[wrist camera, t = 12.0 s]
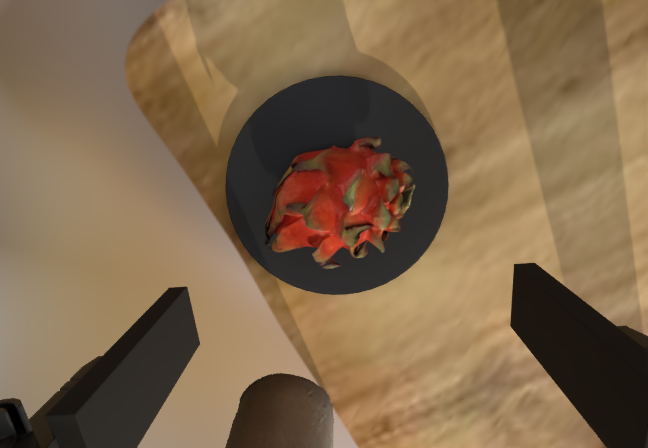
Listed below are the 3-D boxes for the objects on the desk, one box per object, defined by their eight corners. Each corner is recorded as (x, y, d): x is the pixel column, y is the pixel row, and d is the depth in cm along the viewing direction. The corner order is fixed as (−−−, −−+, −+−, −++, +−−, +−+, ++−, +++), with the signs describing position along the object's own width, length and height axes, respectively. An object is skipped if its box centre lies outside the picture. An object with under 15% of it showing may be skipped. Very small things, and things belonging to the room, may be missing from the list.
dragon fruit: (413, 161, 30) (290, 218, 34) (376, 82, 24) (229, 161, 27) (448, 247, 25) (299, 302, 28) (413, 174, 19) (227, 257, 22)
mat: (445, 63, 27) (448, 62, 26) (446, 283, 32) (448, 286, 31) (208, 90, 28) (205, 89, 27) (246, 299, 33) (245, 302, 33)
